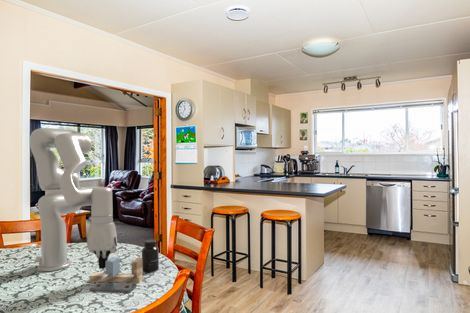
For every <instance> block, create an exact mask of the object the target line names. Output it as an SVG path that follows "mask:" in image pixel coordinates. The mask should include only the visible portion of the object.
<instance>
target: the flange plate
mask: <svg viewBox="0 0 470 313" xmlns="http://www.w3.org/2000/svg"><path fill="white" fill-rule="evenodd" d="M136 288H137V283H123V282H96V283H94V285H92V286H91V287H90V288H89V292H101V293H102V292H104V293H105V292H106V293H124V294H125V293H127V294H128V293H129V294H130V293H131V292H133V291H135V289H136Z"/></svg>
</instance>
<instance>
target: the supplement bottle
mask: <svg viewBox="0 0 470 313" xmlns="http://www.w3.org/2000/svg"><path fill="white" fill-rule="evenodd" d="M143 245H144V246H143V248H142V249H141V258H142V265H143V272H144V273H154V272H157V271H158V270H159V268H160V266H159V265H160V264H159V262H160V261H159V260H160V257H159V256H160V254H159V253H160V252H159V251H160V250H159V247H158V246H157V240H156V239H146V240H144V242H143Z"/></svg>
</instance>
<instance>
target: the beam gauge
mask: <svg viewBox="0 0 470 313" xmlns="http://www.w3.org/2000/svg"><path fill="white" fill-rule="evenodd" d="M130 264H131V273H118V274H117V275H115V276H114V277H106V278H104V279H103V280H101V278H102V277H103V276H105V275H106V272H93V273H91V274H90V275H89V276H88V277H89V282H102V283H128V284H140V283H141V282H143V280H144V275H143V265H142V257H137V258H135V259H134V260H132V261H131V263H130Z"/></svg>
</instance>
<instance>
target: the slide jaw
mask: <svg viewBox="0 0 470 313" xmlns="http://www.w3.org/2000/svg"><path fill="white" fill-rule="evenodd" d="M120 261H121V259H120V257H119V256H112V257H110V258H108V260H107V261H105V268H104V269H105V273H106V275H105V276H103V277H102V278H101V280H103V279H104V278H106V277H114V276H115V275H117V274H120V272H121V268H120V267H121V264H120Z"/></svg>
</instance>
